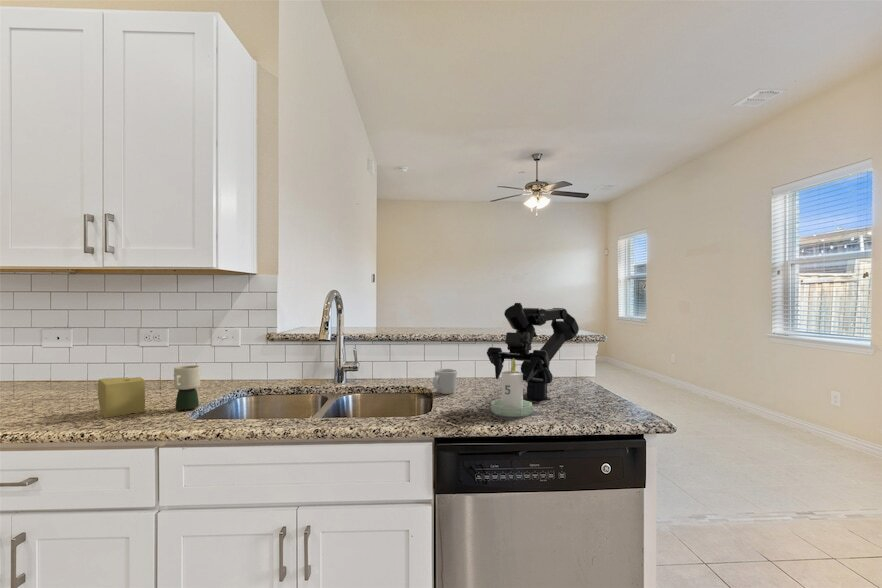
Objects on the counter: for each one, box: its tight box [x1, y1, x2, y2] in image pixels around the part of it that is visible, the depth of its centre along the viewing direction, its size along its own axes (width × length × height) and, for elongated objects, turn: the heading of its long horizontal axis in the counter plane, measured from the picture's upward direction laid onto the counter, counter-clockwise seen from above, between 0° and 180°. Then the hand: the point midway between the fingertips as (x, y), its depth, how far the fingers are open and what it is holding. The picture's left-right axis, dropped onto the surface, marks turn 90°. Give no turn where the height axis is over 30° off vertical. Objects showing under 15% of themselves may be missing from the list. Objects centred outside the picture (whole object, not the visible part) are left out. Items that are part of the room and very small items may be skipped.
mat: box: [480, 408, 544, 422], centre depth 132 cm, size 13×13×1 cm
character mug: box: [173, 364, 201, 411], centre depth 136 cm, size 11×7×13 cm, turn 176°
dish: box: [490, 398, 534, 418], centre depth 132 cm, size 12×12×2 cm
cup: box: [432, 368, 458, 395], centre depth 158 cm, size 11×8×8 cm
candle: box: [501, 358, 524, 408], centre depth 132 cm, size 6×6×15 cm
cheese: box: [97, 376, 146, 419], centre depth 133 cm, size 10×11×10 cm
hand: (511, 380), depth 131 cm, fingers open, 9 cm apart
